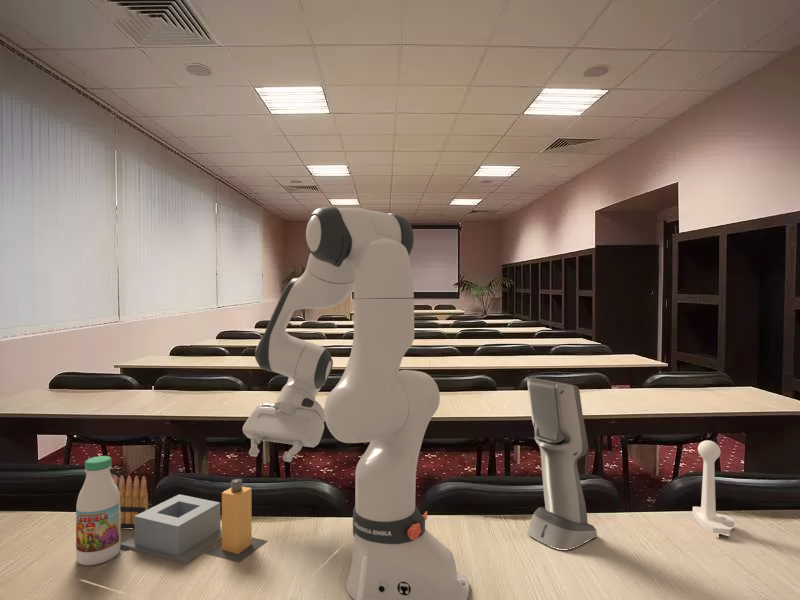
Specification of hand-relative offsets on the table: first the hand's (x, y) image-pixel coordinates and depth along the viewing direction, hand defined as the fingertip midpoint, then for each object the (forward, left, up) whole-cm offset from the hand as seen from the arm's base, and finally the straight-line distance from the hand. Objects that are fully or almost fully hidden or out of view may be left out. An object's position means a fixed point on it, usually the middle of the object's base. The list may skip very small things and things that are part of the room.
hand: (268, 457), depth 113 cm
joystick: (-96, -38, -16) cm, 105 cm away
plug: (0, +11, -15) cm, 19 cm away
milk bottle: (+24, +24, -16) cm, 37 cm away
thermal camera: (-63, -21, -16) cm, 68 cm away
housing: (+14, +13, -16) cm, 25 cm away
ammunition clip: (+30, +13, -16) cm, 36 cm away
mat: (0, +11, -16) cm, 19 cm away
